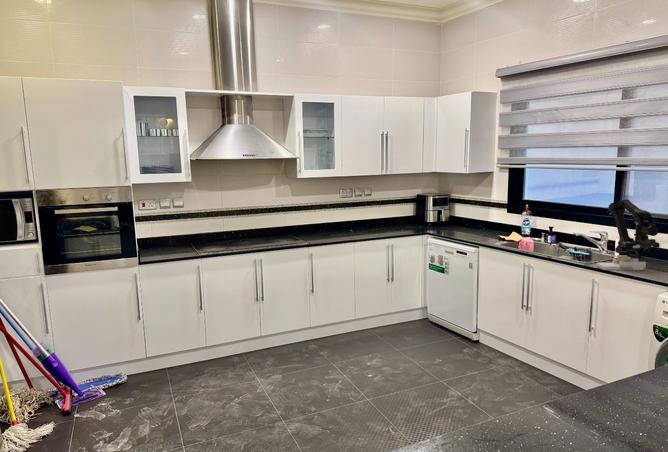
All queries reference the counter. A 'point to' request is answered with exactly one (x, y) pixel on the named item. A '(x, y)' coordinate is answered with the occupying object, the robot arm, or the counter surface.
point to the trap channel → (623, 265)
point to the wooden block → (623, 258)
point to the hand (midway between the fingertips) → (638, 258)
